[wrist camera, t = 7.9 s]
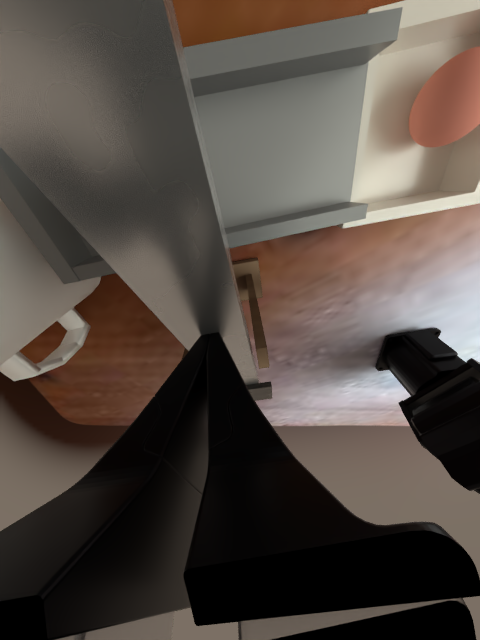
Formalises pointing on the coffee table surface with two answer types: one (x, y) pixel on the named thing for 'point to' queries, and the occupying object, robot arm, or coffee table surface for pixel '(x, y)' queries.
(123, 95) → the lever
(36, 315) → the mug
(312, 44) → the chute
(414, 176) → the cream square tray
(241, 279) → the lever stand
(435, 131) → the ball
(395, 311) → the coffee table surface
